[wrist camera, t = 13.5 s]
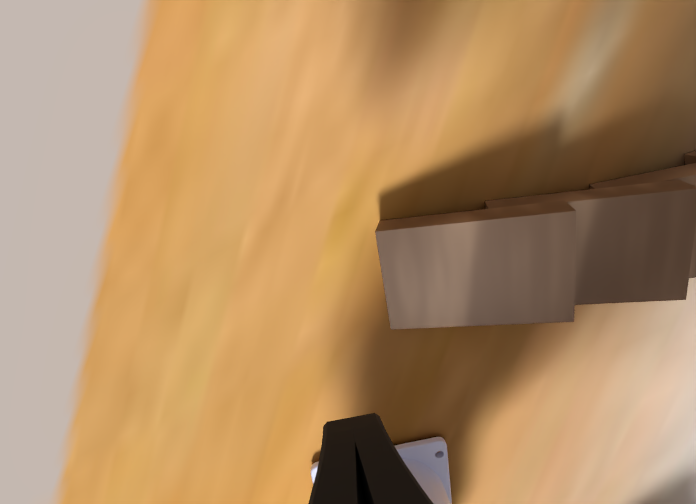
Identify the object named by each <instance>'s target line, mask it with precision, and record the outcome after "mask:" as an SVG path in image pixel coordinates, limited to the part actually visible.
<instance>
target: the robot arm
mask: <svg viewBox="0 0 696 504" xmlns="http://www.w3.org/2000/svg"><path fill="white" fill-rule="evenodd" d="M438 451H440V452H438ZM437 452H438V453H437ZM311 477H312V481H313V488H312V492H311V496H310V500H309V504H452V499H451V487H450V475H449V464H448V452H447V444H446V442H445V440H444V439H443V438H442V437H433V438H428V439H424V440H419V441H414V442H409V443H404V444H399V445H395V446H394V445H393V443H392V441H391V439H390V438H389V436H388V434H387V432H386V430H385V428H384V426H383V424H382V421H381V419H380V416H378V415H377V414H375V413H373V414H367V415H362V416H357V417H351V418H346V419H340V420H335V421H330V422H327V423H326V424H325V425H324V426H323V439H322V447H321V453H320V458H319V461H318V462H315V463H314V464H312V466H311Z"/></svg>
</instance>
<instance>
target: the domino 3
mask: <svg viewBox="0 0 696 504" xmlns="http://www.w3.org/2000/svg"><path fill="white" fill-rule="evenodd" d="M672 180H681V181H683V182H686V183H689V184H691V185H694V186H696V163H692V164H687V165H683V166H678V167H673V168H668V169H663V170H658V171H653V172H648V173H643V174H638V175H633V176H628V177H623V178H619V179H614V180H609V181H604V182H599V183H594V184H589V186H590V189H598V188H607V187H617V186H626V185H635V184H644V183H653V182H662V181H672ZM694 277H696V226H695V234H694V242H693V249H692V257H691V264H690V272H689V278H694Z"/></svg>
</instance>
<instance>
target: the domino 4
mask: <svg viewBox="0 0 696 504" xmlns="http://www.w3.org/2000/svg"><path fill="white" fill-rule="evenodd" d="M684 156H685V165H687V164H692V163H696V151H693V152H689V153H686V154H684Z"/></svg>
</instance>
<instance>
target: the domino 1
mask: <svg viewBox="0 0 696 504" xmlns="http://www.w3.org/2000/svg"><path fill="white" fill-rule="evenodd" d="M375 233H376V240H377V246H378V252H379V258H380V265H381V271H382V277H383V283H384V290H385V296H386V302H387V308H388V315H389V321H390V327H391V329H413V328H436V327H460V326H483V325H507V324H530V323H554V322H574V301H575V247H576V210H575V209H574V208H572V207H571V206H570V205H569V204H568V203H567V202H566V201H565V200H563V201H554V202H545V203H536V204H527V205H517V206H508V207H499V208H490V209H481V210H472V211H463V212H454V213H445V214H436V215H427V216H418V217H408V218H399V219H390V220H381V221H380V222H379V224H378V226H377V229H376V231H375Z"/></svg>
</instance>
